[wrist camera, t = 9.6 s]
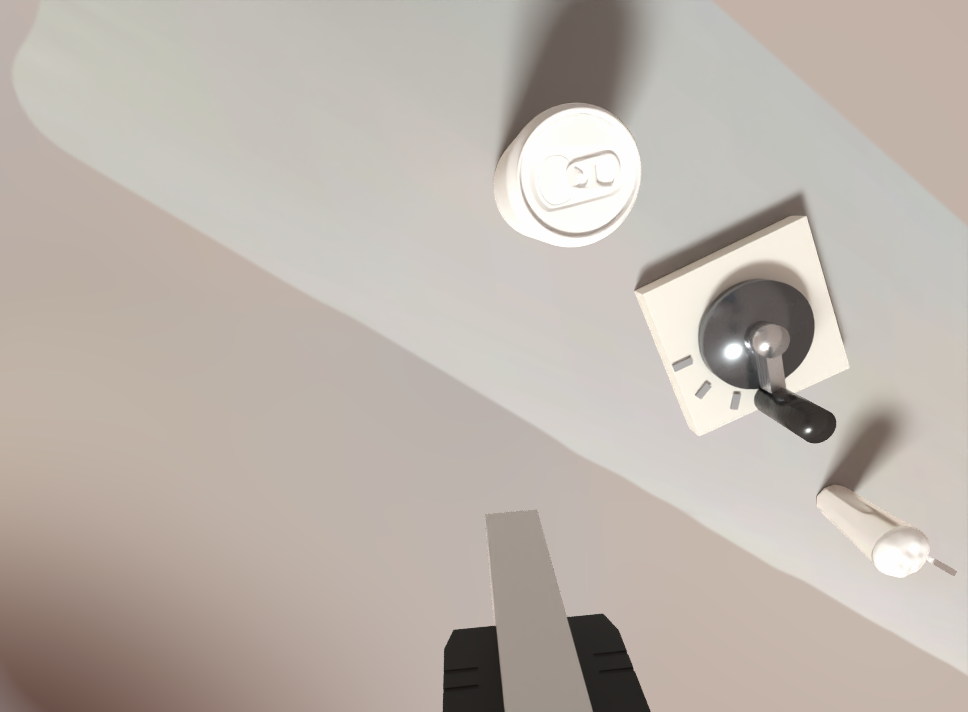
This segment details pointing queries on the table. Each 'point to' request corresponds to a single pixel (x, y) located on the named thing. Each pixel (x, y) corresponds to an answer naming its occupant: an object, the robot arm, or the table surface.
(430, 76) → the table surface
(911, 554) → the milkshake
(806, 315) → the dial
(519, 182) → the beverage can
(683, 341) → the dial board
